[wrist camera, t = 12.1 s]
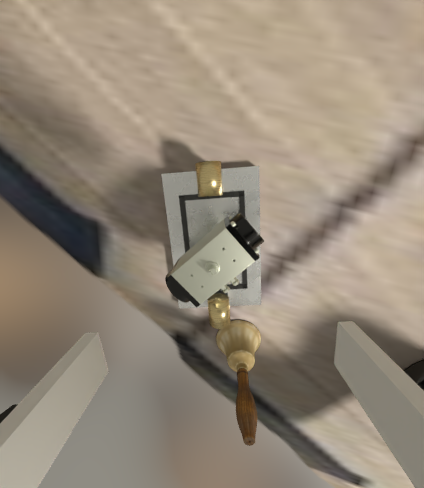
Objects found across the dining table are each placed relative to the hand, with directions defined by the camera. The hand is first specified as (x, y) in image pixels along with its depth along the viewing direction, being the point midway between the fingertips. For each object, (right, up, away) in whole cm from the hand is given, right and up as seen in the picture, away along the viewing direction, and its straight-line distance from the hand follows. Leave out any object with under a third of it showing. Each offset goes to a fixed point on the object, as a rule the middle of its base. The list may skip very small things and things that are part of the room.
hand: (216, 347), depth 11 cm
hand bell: (+5, -12, +27) cm, 30 cm away
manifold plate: (0, +6, +22) cm, 23 cm away
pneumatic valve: (0, +6, +21) cm, 21 cm away
